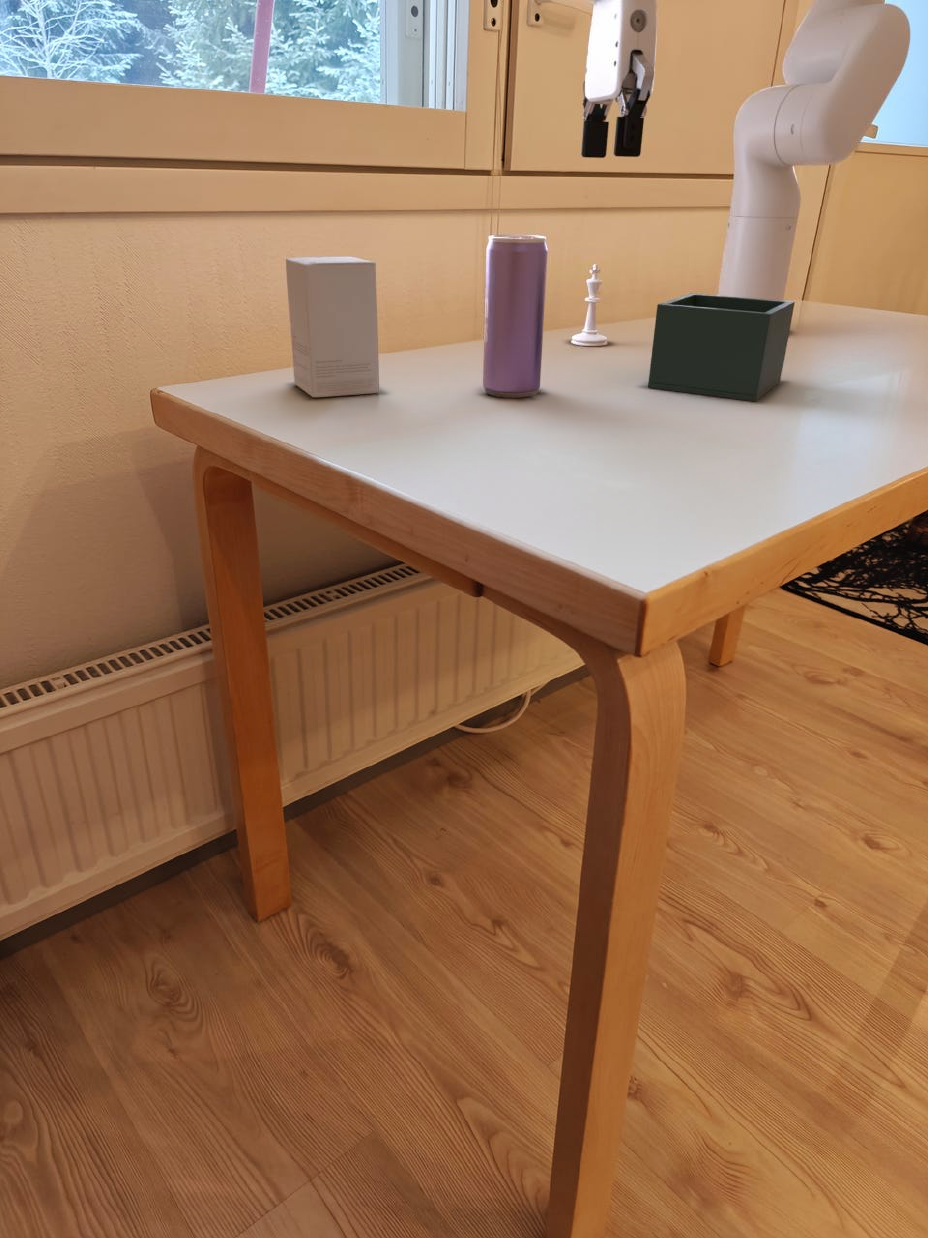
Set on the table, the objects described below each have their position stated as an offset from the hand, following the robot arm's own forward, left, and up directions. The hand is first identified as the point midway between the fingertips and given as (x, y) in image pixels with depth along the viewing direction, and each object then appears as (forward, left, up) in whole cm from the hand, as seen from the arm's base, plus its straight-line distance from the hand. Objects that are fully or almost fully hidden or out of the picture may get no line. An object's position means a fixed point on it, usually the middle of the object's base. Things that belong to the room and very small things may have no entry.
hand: (609, 156), depth 105 cm
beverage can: (+31, +3, -23) cm, 38 cm away
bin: (+14, +20, -22) cm, 34 cm away
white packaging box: (+40, -13, -23) cm, 47 cm away
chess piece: (-2, -2, -23) cm, 23 cm away
